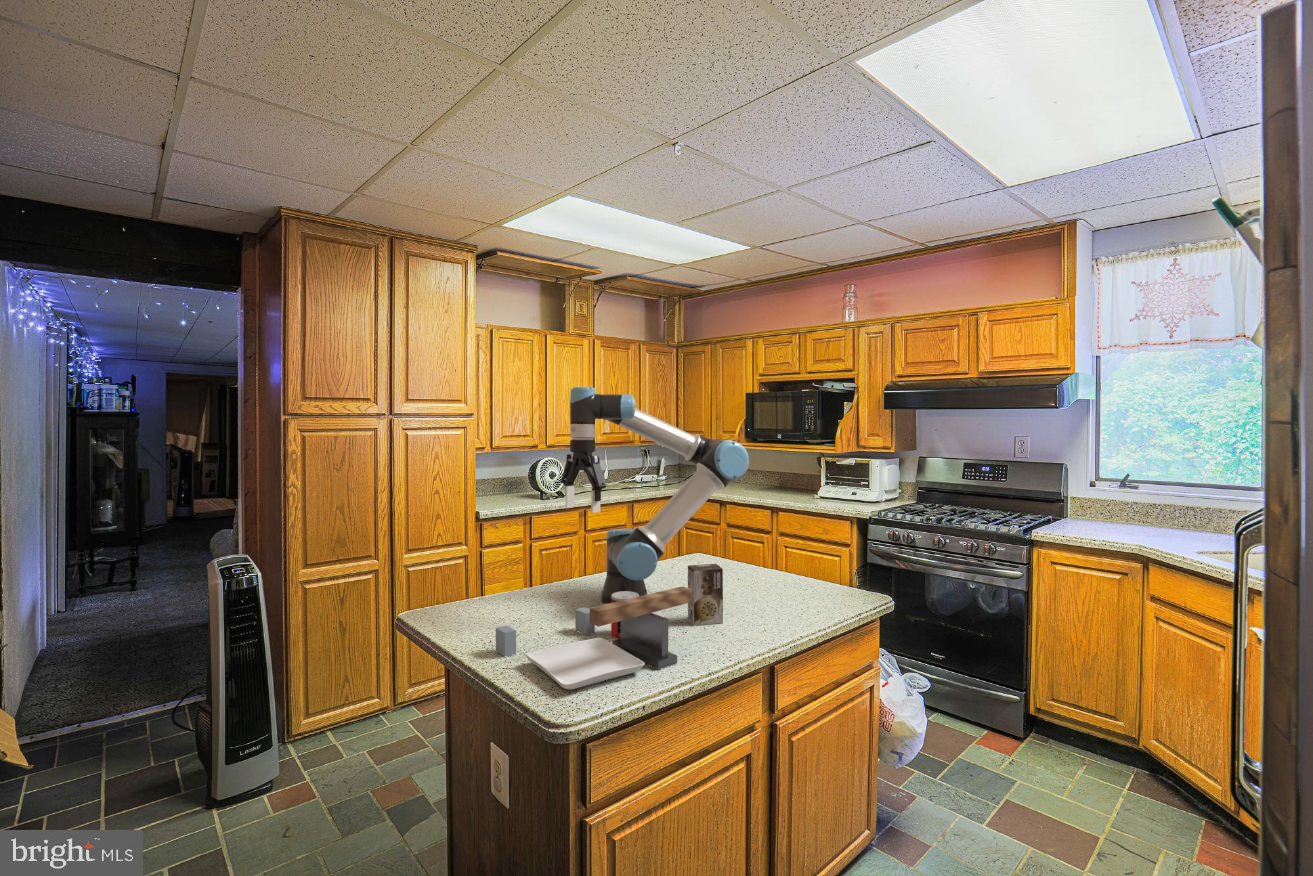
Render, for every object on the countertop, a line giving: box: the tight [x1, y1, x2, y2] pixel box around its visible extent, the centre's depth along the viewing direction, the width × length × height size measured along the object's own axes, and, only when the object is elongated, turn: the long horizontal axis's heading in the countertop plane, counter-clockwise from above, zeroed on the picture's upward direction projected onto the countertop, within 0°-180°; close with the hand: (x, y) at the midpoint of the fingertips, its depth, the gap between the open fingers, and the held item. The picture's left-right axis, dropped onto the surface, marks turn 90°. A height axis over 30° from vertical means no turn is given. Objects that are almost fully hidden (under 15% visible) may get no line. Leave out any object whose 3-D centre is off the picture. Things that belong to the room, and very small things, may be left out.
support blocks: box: [495, 607, 596, 657], centre depth 164 cm, size 27×5×6 cm, turn 131°
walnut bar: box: [589, 585, 692, 628], centre depth 154 cm, size 30×4×4 cm, turn 131°
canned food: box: [610, 591, 639, 640], centre depth 169 cm, size 8×8×11 cm
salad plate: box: [525, 637, 646, 690], centre depth 145 cm, size 21×21×3 cm
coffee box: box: [687, 563, 724, 626], centre depth 181 cm, size 9×6×16 cm
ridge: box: [611, 612, 678, 670], centre depth 154 cm, size 6×18×11 cm, turn 41°
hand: (582, 509), depth 186 cm, fingers open, 13 cm apart
